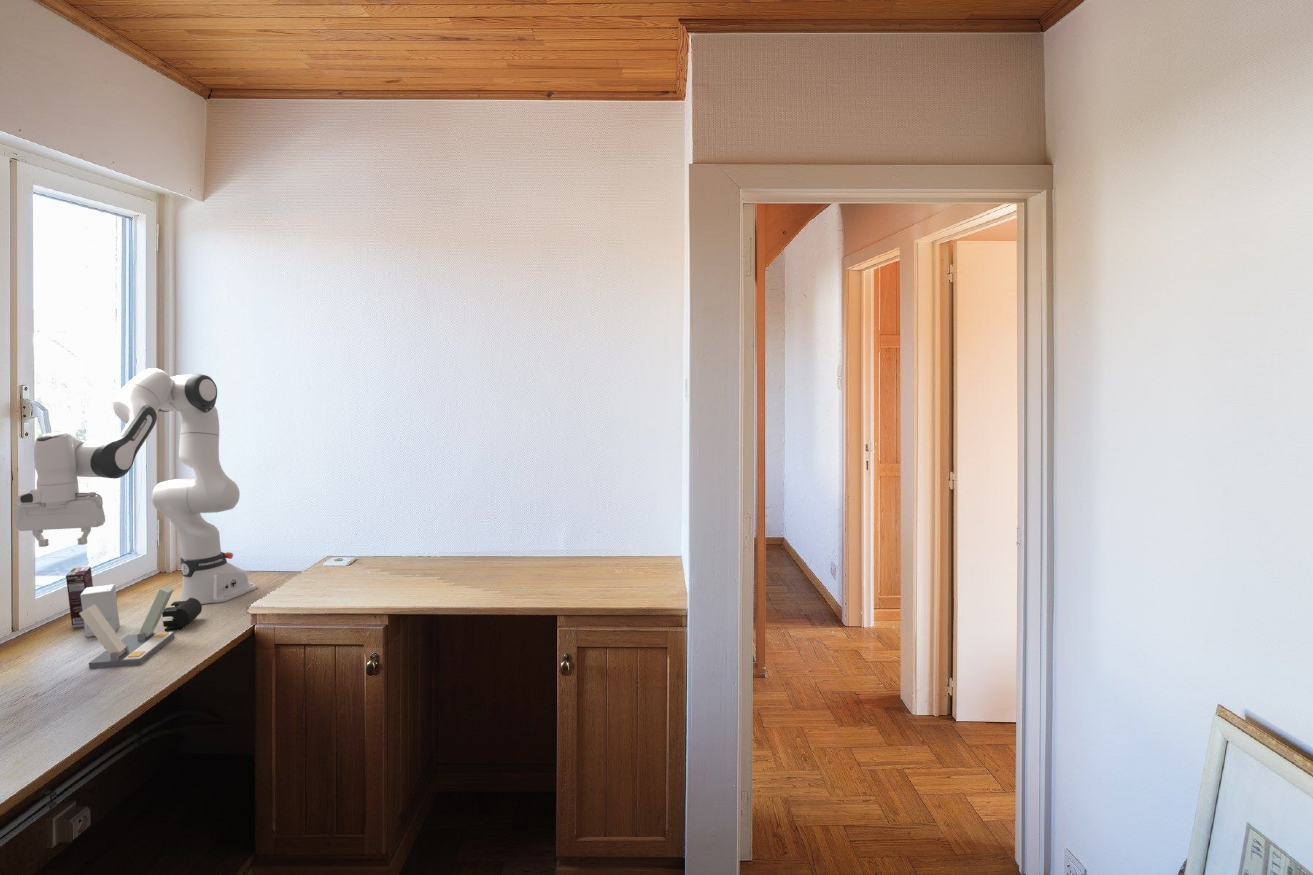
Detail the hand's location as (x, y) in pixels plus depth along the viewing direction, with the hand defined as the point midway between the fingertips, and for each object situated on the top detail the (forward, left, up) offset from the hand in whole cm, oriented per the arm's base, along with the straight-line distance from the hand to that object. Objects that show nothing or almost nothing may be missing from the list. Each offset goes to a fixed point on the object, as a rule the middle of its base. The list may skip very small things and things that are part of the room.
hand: (63, 545), depth 217 cm
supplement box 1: (-14, -21, -29) cm, 39 cm away
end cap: (-25, +9, -29) cm, 39 cm away
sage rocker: (-11, +13, -27) cm, 32 cm away
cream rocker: (0, +21, -27) cm, 34 cm away
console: (-6, +17, -29) cm, 34 cm away
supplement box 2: (-12, -8, -29) cm, 33 cm away
